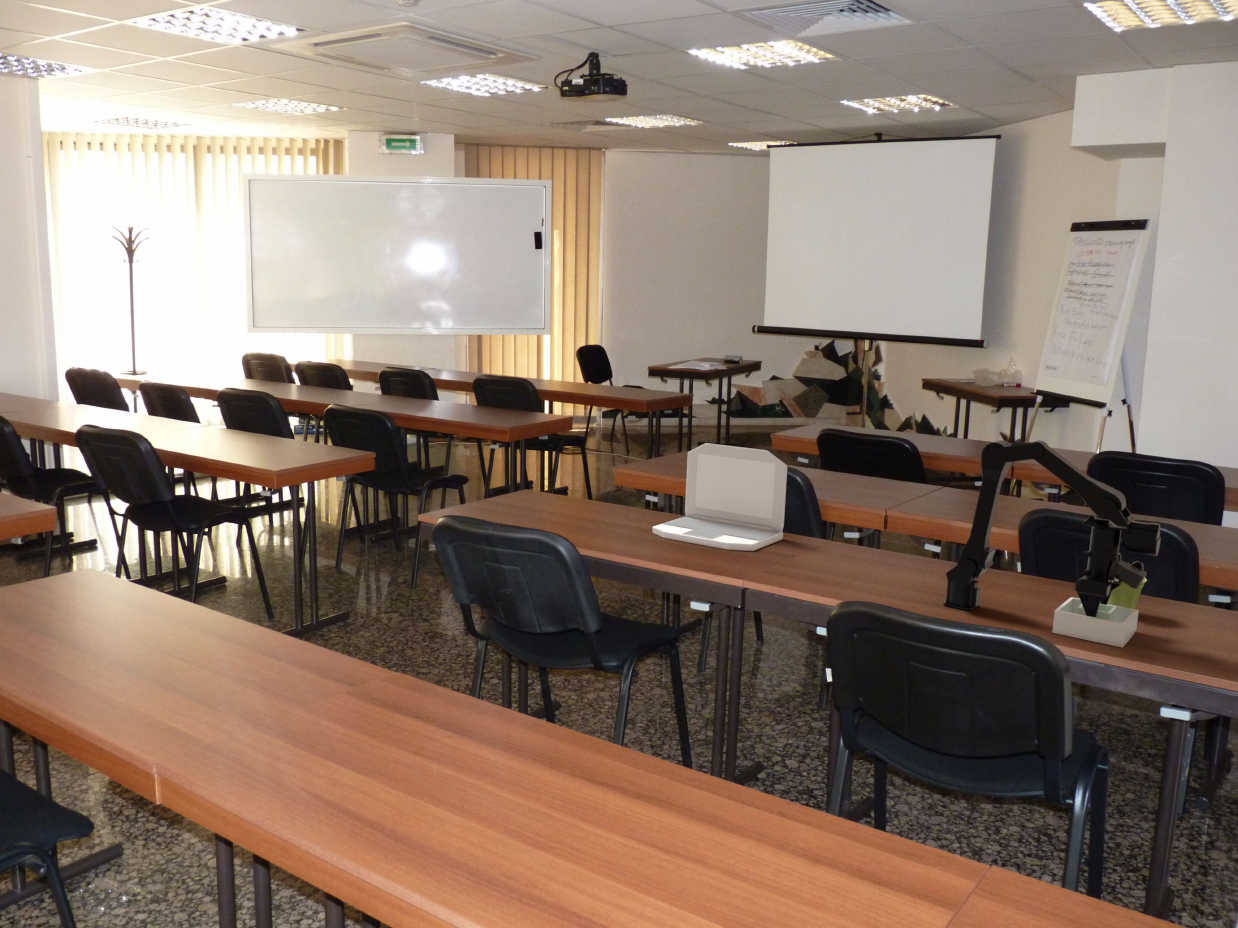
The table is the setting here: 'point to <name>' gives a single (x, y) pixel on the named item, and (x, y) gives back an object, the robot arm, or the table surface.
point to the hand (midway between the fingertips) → (1096, 617)
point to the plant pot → (1126, 595)
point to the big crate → (1095, 624)
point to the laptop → (731, 499)
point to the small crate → (1101, 612)
